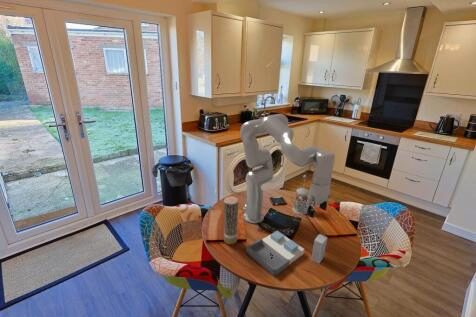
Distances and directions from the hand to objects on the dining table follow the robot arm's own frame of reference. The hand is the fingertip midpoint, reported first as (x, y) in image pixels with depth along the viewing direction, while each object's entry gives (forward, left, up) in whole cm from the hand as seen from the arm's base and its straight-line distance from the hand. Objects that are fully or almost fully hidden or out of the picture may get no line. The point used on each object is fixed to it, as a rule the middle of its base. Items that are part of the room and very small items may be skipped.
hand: (316, 212), depth 112 cm
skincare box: (+4, +1, -25) cm, 25 cm away
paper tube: (-32, -25, -25) cm, 48 cm away
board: (-11, -8, -25) cm, 28 cm away
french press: (-28, +28, -25) cm, 47 cm away
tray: (-11, -19, -25) cm, 33 cm away
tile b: (-16, -7, -22) cm, 28 cm away
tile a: (-7, -7, -22) cm, 24 cm away
